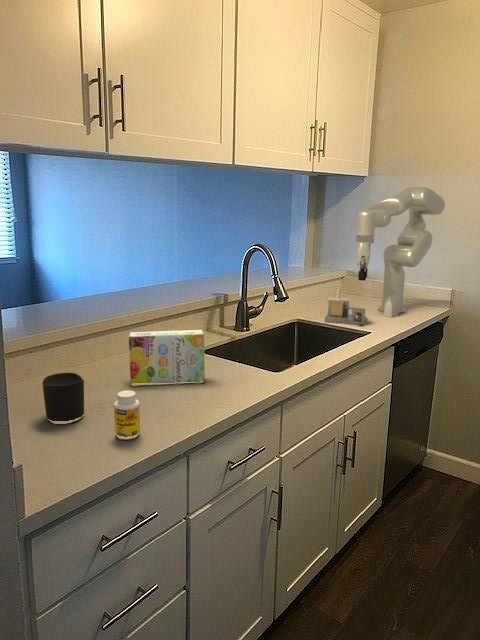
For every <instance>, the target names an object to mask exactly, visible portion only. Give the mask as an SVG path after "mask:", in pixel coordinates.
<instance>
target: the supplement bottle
mask: <svg viewBox="0 0 480 640" xmlns="http://www.w3.org/2000/svg"><path fill="white" fill-rule="evenodd" d="M136 398H137V396H136V391H133V390H122V391H119V392H117V400H116V401H115V402H114V404H113V408H114V434H115V433H116V434H117V435H119V436H124V437H128V436H134V435H136V434H138V433H139V432H140V433H141V415H140V413H141V411H140V409H141V407H140V402H139V401H140V400H138V399H136Z"/></svg>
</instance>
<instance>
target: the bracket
mask: <svg viewBox="0 0 480 640" xmlns="http://www.w3.org/2000/svg"><path fill="white" fill-rule="evenodd" d="M332 302H333V300H329V301H328V309H327V314H326V315H325V316H324V323H329V324H330V323H331V324H341V325H342V324H343V325H354V326H355V325H356V326H365V323H366V318H367V316H366V308H362V307H352V310H351V314H349V313H350V312H349V311H350V301H349V302H347V301H344V316H342V317H331V303H332ZM355 312H362V316H361V318H360V321H355V320H354V318H355V315H356V313H355Z"/></svg>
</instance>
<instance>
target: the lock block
mask: <svg viewBox="0 0 480 640" xmlns="http://www.w3.org/2000/svg"><path fill="white" fill-rule="evenodd" d="M342 316H344V301H334V300H333V302H332V303H331V317H342Z"/></svg>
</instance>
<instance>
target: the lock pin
mask: <svg viewBox="0 0 480 640" xmlns="http://www.w3.org/2000/svg"><path fill="white" fill-rule="evenodd" d="M361 316H362V312H355V318H354V320H355V321H360V318H361Z"/></svg>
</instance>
